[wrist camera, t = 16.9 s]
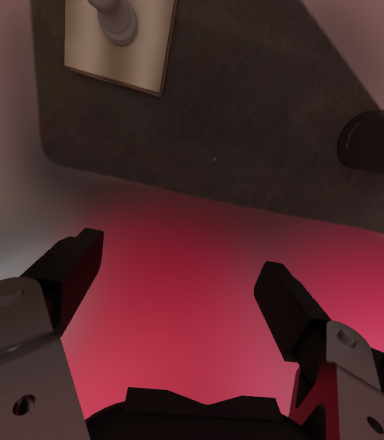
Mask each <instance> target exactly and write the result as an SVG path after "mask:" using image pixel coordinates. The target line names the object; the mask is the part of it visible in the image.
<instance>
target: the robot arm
mask: <svg viewBox="0 0 384 440" xmlns="http://www.w3.org/2000/svg"><path fill="white" fill-rule="evenodd" d="M338 154H339V158H340V159H341V161H342V162H343V163H344V165H346V166H348V167H350V168H355V169H360V170H365V171H369V172H374V173H379V174H384V110H380V111H371V112H366V113H363V114H361V115H359V116H357V117H356V118H354V119H353V120H352V121H351V122H350V123H349V124H348V125H347V126H346V128H345V129H344V131H343V132H342V134H341V137H340V139H339V143H338ZM103 239H104V233H103V231H100V230H95V229H89V228H85V229H83V230H82V232H81V233H80V234H79V235H78V236H77V237H70V236H69V237H67V238H65V239H62V240H60V241H58V242H57V243H56V244H55V245H54V246H53V247H52V248H51V249H50V250H48V251H47V252H46V253H45V254H44V256H42V257H41V258H39V259H38V260H37V261H36V262H35V263H34V264H33V265H32V266H31V267H29V268H28V269H27V270H26V271H25V272H24V273H23V274H22V275H21V276H20V277H14V278H7V279H3V280H0V440H384V353H383V352H381V351H378V350H376V349H373V348H370V346H369V344H368V343H367V342H366V340H365V339H364V338H363V337H362V336H361V335H360V334H359V333H357V332H356V331H355V330H353V329H352V328H350V327H349V326H347V325H345V324H343V323H340V322H337V321H332V320H331V319H330V318H329V316H328V315H327V314H326V313H325V312H324V311H323V309H322V308H321V307H320V306H319V304H318V303H317V302H316V301H315V299H313V298H312V296H311V295H310V293H309V292H307V290H306V289H305V288H304V286H303V285H302V284H301V283H300V282H299V281H298V280H297V279H296V278H294V277H293V276H292V275H291V273H290V272H289V271H288V270H287V268H286V267H285V266H284V265H283V264H281V263H276V262H270V261H267V262H266V263H265V264H264V265H263V268H262V270H261V273H260V275H259V277H258V279H257V282H256V284H255V287H254V296H255V299H256V301H257V303H258V305H259V307H260V310H261V312H262V314H263V316H264V318H265V320H266V322H267V324H268V327H269V329H270V331H271V333H272V335H273V337H274V339H275V341H276V343H277V346H278V348H279V350H280V352H281V354H282V356H283V358H284V361H288V362H297V363H298V364H299V368H298V369H297V371H296V375H295V381H294V387H293V393H292V399H291V406H290V412H289V416H288V417H287V416H285V415H283V414H281V412H280V410H279V407H278V404H277V402H276V399H275V398H266V397H254V396H239V397H235V398H232V399H228V400H225V401H221V402H217V403H214V404H210V405H205V404H202V403H199V402H197V401H194V400H192V399H189V398H187V397H184V396H181V395H179V394H176V393H174V392H171V391H168V390H160V389H145V388H133V387H128V390H127V395H126V400H125V401H124V402H120V403H116V404H113V405H111V406H108V407H106V408H104V409H102V410H100V411H98V412H96V413H95V414H93V415H92V416H90V417H89V418H87V419H86V420H84V416H83V413H82V410H81V406H80V403H79V400H78V396H77V393H76V389H75V386H74V383H73V379H72V376H71V372H70V369H69V366H68V362H67V359H66V355H65V352H64V349H63V345H62V342H61V339H60V337H61V336H62V335H63V333H64V331H65V330H66V328H67V326H68V324H69V323H70V321H71V319H72V317H73V316H74V314H75V312H76V310H77V308H78V307H79V305H80V303H81V301H82V300H83V298H84V296H85V295H86V293H87V291H88V289H89V287H90V286H91V284H92V282H93V280H94V279H95V277H96V275H97V273H98V271H99V268H100V264H101V259H102V249H103Z"/></svg>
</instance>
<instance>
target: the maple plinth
mask: <svg viewBox="0 0 384 440" xmlns="http://www.w3.org/2000/svg"><path fill="white" fill-rule="evenodd" d="M128 1H129V2H130V4H131V5H132V7H133V9H134V11H135V13H136V16H137V20H138V30H137V34H136V36H135V38H134V40H133V41H131V42H130V43H129V44H127V45H122V46H121V45H117V44H114V43H112V42H111V41H110V40H109V39H107V37H106V36H105V34H104V33H103V31H102V29H101V28H100V24H99V21H98V18H97V10H96V8H95V7H93V6H92V5H91V4H90V3H89V2H88V1H87V0H66V10H65V66H67V67H68V68H70V69H72V70H73V71H75V72H77V73H78V74H81V75H85V76H88V77H92V78H96V79H99V80H103V81H106V82H110V83H113V84H117V85H120V86H124V87H127V88H131V89H134V90H138V91H141V92H145V93H148V94H152V95H155V96H159V97H161V96H162V90H163V84H164V78H165V72H166V66H167V60H168V54H169V48H170V42H171V36H172V30H173V24H174V18H175V11H176V5H177V0H128Z"/></svg>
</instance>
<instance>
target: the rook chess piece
mask: <svg viewBox="0 0 384 440" xmlns="http://www.w3.org/2000/svg"><path fill="white" fill-rule="evenodd" d="M87 1H88V2H89V3H90V4H91V5H92V6H93V7H95V8H96V10H97V18H98V21H99V24H100V28H101V29H102V31H103V33H104V34H105V36H106V37H107V39H109V40H110V41H111V42H112V43H114V44H117V45H121V46H122V45H127V44H129V43H130V42H131V41H133V40H134V38H135V36H136V34H137V30H138V20H137V16H136V13H135V11H134V9H133V7H132V5H131V4H130V2H129V1H128V0H87Z"/></svg>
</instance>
